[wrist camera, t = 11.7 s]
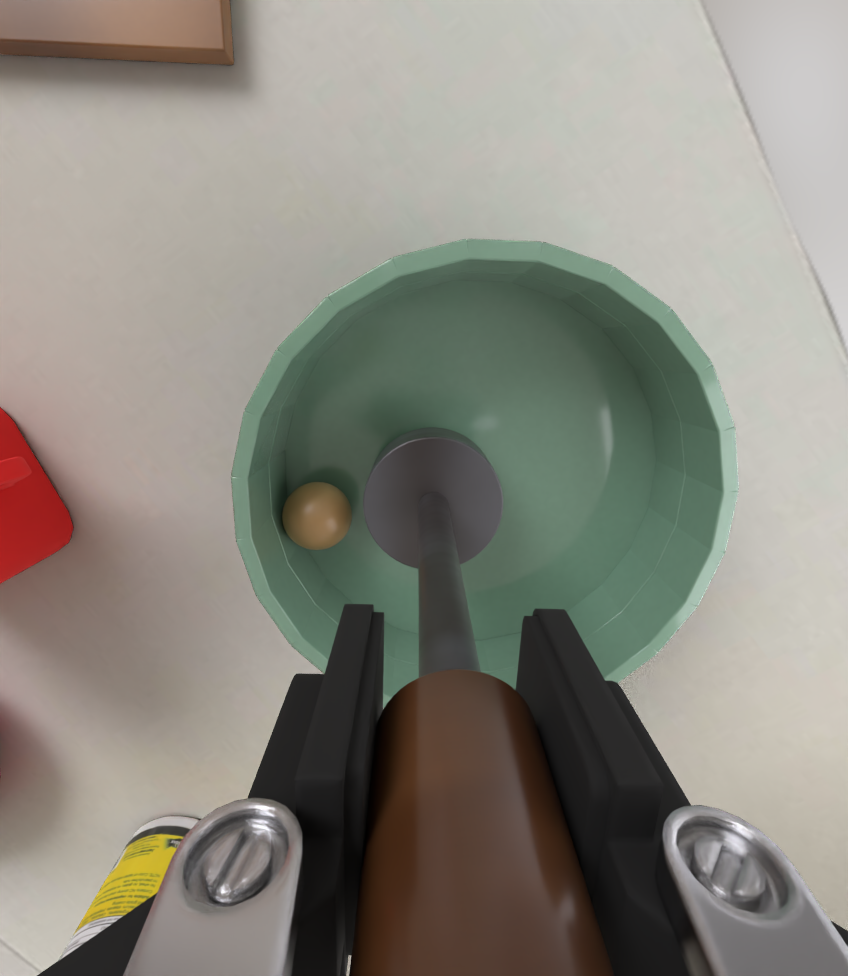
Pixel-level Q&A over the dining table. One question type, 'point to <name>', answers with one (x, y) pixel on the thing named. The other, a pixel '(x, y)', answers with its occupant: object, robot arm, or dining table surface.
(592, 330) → the bowl
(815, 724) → the dining table surface
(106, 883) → the pill bottle
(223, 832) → the robot arm
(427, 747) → the stamp handle
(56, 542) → the mug
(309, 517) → the tan sphere
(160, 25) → the square copper plate
